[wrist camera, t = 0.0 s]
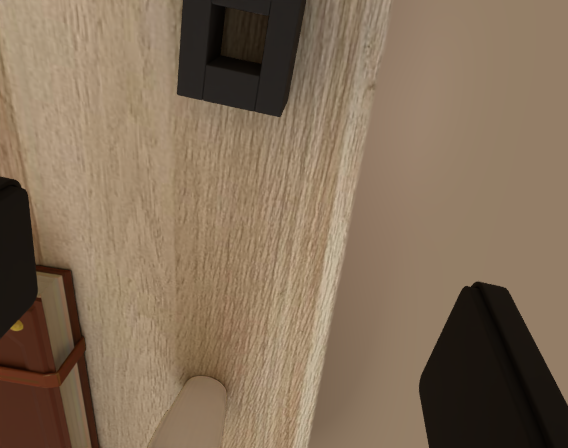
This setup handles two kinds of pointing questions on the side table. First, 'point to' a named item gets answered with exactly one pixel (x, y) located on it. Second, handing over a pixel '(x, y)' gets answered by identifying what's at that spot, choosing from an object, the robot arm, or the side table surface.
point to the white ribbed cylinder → (194, 417)
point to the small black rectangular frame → (235, 72)
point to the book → (46, 372)
